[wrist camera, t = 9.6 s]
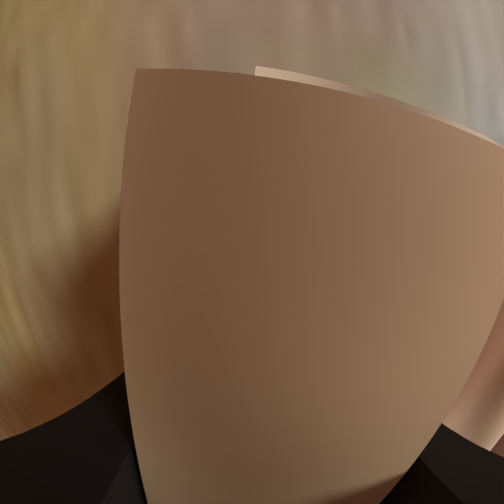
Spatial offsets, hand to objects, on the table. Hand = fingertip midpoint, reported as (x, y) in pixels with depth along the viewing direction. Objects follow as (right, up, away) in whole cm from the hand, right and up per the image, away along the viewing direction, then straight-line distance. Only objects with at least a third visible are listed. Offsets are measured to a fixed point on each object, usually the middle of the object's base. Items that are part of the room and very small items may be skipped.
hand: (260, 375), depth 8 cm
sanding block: (0, +1, +1) cm, 2 cm away
